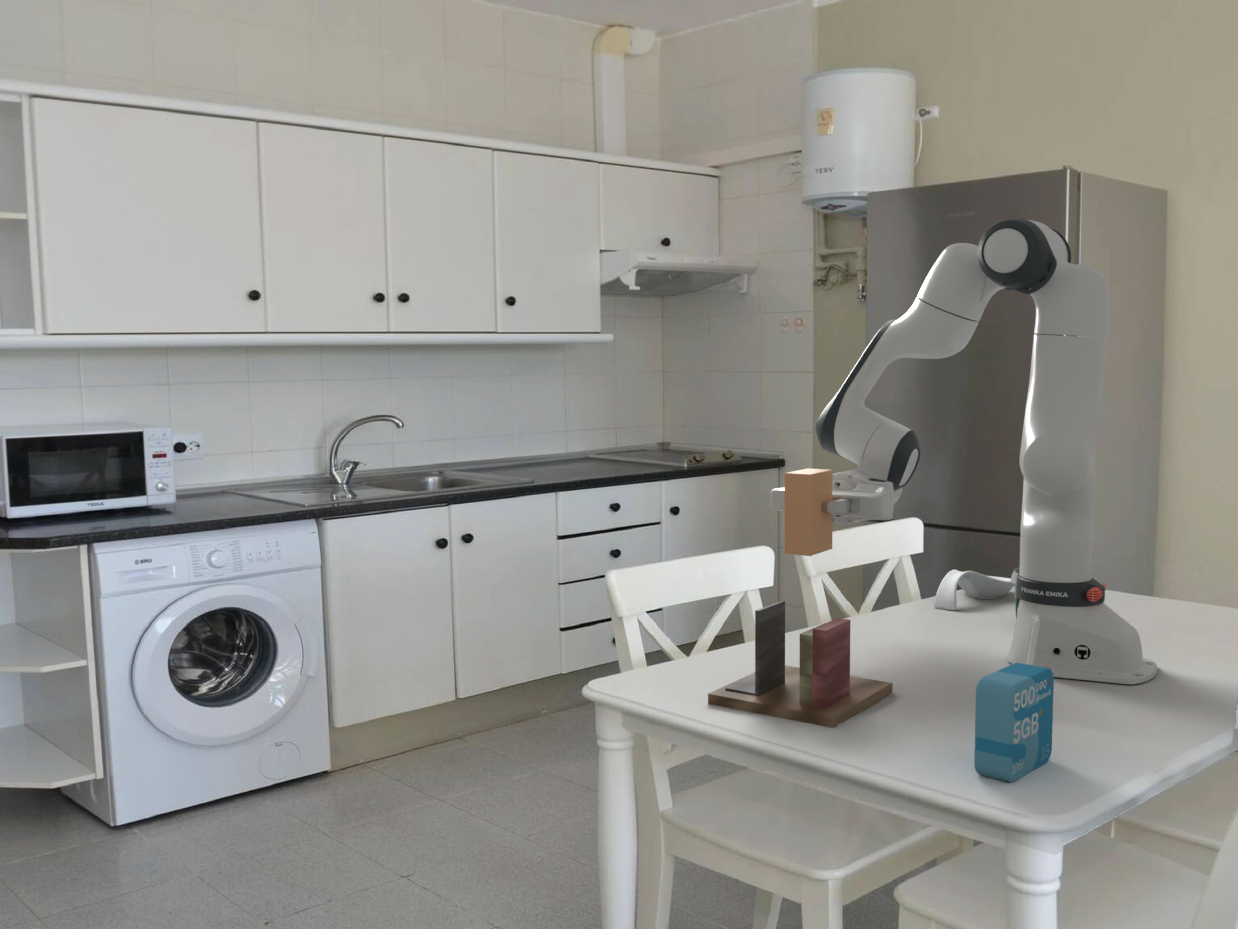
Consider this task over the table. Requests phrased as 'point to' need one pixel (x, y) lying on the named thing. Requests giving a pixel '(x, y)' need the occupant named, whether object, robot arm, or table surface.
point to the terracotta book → (807, 511)
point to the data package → (1013, 721)
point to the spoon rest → (970, 587)
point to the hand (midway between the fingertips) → (809, 506)
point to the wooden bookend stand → (801, 675)
